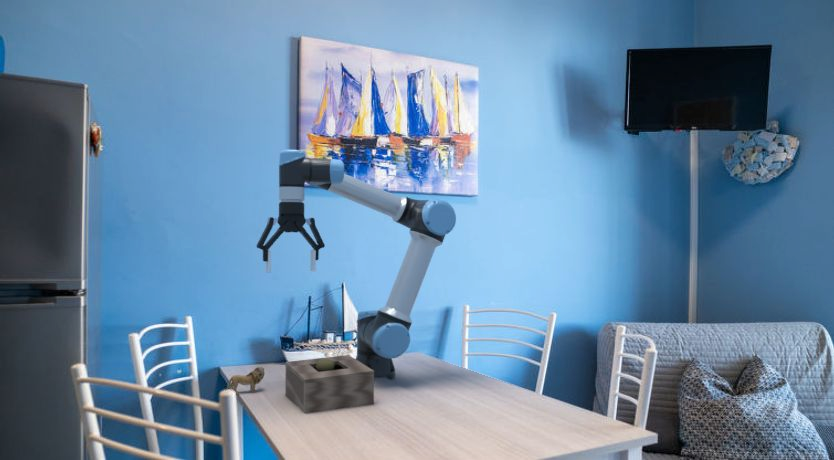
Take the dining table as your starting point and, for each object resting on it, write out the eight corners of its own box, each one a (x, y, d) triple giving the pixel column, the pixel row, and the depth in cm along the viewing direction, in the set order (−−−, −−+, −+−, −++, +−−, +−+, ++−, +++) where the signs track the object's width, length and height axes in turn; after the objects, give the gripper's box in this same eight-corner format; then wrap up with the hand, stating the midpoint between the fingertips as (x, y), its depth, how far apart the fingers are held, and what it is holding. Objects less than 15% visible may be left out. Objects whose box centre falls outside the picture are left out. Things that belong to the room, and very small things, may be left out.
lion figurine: (263, 387, 171) (263, 364, 171) (265, 391, 167) (266, 367, 167) (222, 393, 165) (222, 368, 165) (224, 397, 161) (225, 372, 161)
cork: (330, 401, 155) (330, 363, 155) (310, 399, 157) (311, 361, 156) (338, 395, 161) (338, 358, 161) (319, 393, 163) (319, 356, 162)
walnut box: (348, 386, 173) (348, 354, 173) (373, 405, 155) (374, 370, 155) (285, 395, 164) (285, 362, 163) (304, 417, 146) (305, 379, 146)
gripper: (327, 202, 174) (326, 269, 175) (246, 200, 163) (246, 272, 163) (335, 202, 168) (334, 271, 168) (252, 200, 156) (251, 274, 156)
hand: (291, 271), depth 166 cm, fingers open, 13 cm apart
